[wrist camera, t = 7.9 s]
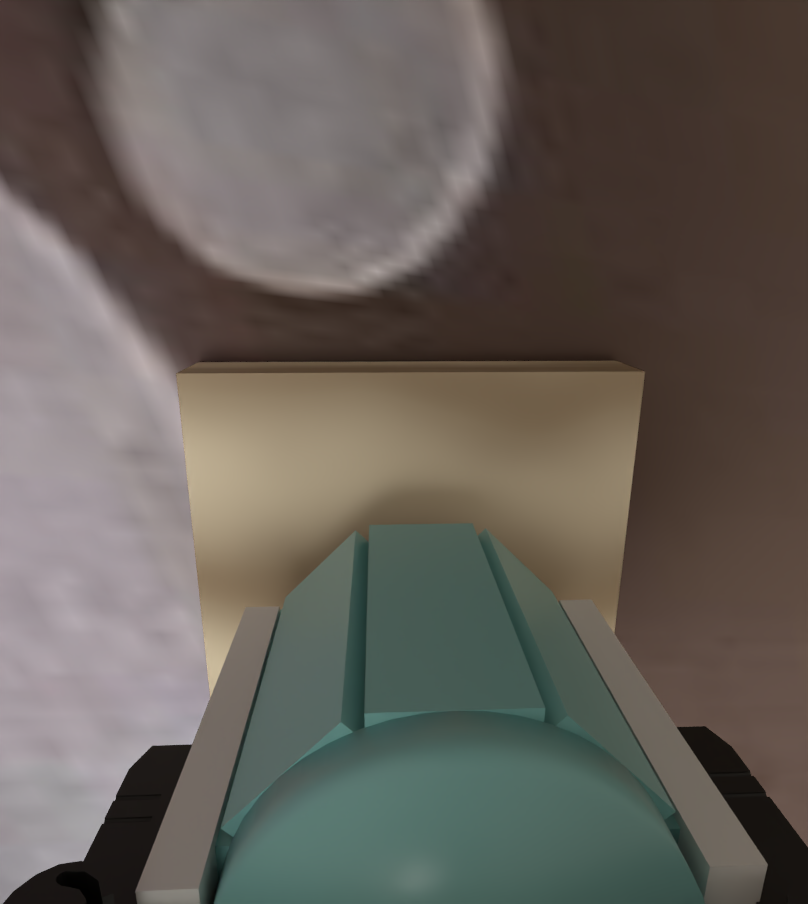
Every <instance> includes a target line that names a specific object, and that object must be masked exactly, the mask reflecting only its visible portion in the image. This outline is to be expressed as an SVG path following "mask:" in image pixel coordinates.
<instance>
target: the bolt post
mask: <svg viewBox="0 0 808 904" xmlns="http://www.w3.org/2000/svg"><path fill="white" fill-rule="evenodd" d="M644 376H645V371H642V370H640V369H637V368H634V367H631V366H629V365H626V364H623V363H621V362H618V361H390V362H198V363H196V364H194V365H192V366H190V367H188V368H186V369H184V370H182V371H180V372H178V373H176V377H177V386H178V396H179V405H180V415H181V424H182V434H183V443H184V453H185V462H186V472H187V481H188V491H189V500H190V510H191V519H192V529H193V538H194V548H195V557H196V567H197V576H198V586H199V595H200V605H201V614H202V624H203V633H204V643H205V652H206V662H207V671H208V681H209V690H210V698H211V695H212V693H213V690H214V687H215V685H216V682H217V680H218V677H219V675H220V672H221V669H222V667H223V664H224V662H225V659H226V656H227V654H228V651H229V649H230V646H231V644H232V641H233V638H234V636H235V633H236V631H237V628H238V626H239V623H240V620H241V618H242V615H243V613H244V610H245V608H246V607H277V606H279V608H280V610H281V609H282V608H283V604H284V601H285V597H286V596H287V595H288V594H290V593H291V592H292V591H293V590H294V589H295V588H296V587H297V586H298V585H299V584H300V583H301V582H302V581H303V580H304V579H305V578H306V577H307V576H308V575H309V574H310V573H311V572H313V571H314V570H315V569H316V568H317V567H318V566H319V565H320V564H321V563H322V562H323V561H324V560H325V559H326V558H327V557H328V556H329V555H330V554H331V553H332V552H333V551H334V550H336V549H337V548H338V547H339V546H340V545H341V544H342V543H343V542H344V541H345V540H346V539H347V538H348V537H349V536H350V535H351V534H352V533H353V532H354V531H355V530H356V531H357V532H358V533H359V534H360V535H362V536H363V537H364V538H365V539H366V540H367V541H368V542H369V525H392V524H457V523H473V526H474V528H475V531H476V533H477V536H478V535H479V534H480V533H481V532H482V531H483V530H484V529H485V528H486V529H487V530H488V531H489V532H490V533H491V534H492V535H493V536H494V537H495V538H497V539H498V540H499V541H500V542H501V543H502V544H503V545H504V546H505V547H506V548H507V549H508V550H509V551H510V552H511V553H512V554H513V555H514V556H515V557H516V558H517V559H519V560H520V561H521V562H522V563H523V564H524V565H525V566H526V567H527V568H528V569H529V570H530V571H531V572H532V573H533V574H534V575H535V576H536V577H537V578H538V579H539V580H541V581H542V582H543V583H544V584H545V585H546V586H547V587H548V588H549V589H550V590H551V591H552V592H553V594H554V596H555V597H556V599H557V601H558V603H559V600H592V601H593V603H594V604H595V606H596V607H597V609H598V610H599V612H600V613H601V615H602V616H603V618H604V619H605V621H606V622H607V624H608V625H609V627H610V628H611V630H612V631H613V633H614V631H615V623H616V614H617V606H618V597H619V589H620V580H621V572H622V563H623V555H624V546H625V538H626V529H627V521H628V512H629V504H630V495H631V486H632V478H633V469H634V461H635V452H636V444H637V435H638V427H639V418H640V410H641V401H642V393H643V384H644Z"/></svg>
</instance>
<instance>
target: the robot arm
mask: <svg viewBox="0 0 808 904" xmlns="http://www.w3.org/2000/svg"><path fill="white" fill-rule="evenodd" d="M559 604H560V606H561V608H562V610H563V612H564V613H565V615H566V617H567V619H568V620H569V622H570V624H571V626H572V628H573V629H574V631H575V633H576V635H577V636H578V638H579V640H580V642H581V644H582V645H583V647H584V649H585V651H586V653H587V654H588V656H589V658H590V660H591V661H592V663H593V665H594V667H595V669H596V670H597V672H598V674H599V676H600V677H601V679H602V681H603V683H604V685H605V686H606V688H607V690H608V692H609V693H610V695H611V697H612V699H613V701H614V702H615V704H616V706H617V708H618V709H619V711H620V713H621V715H622V717H623V718H624V720H625V722H626V724H627V725H628V727H629V729H630V731H631V733H632V734H633V736H634V738H635V740H636V741H637V743H638V745H639V747H640V749H641V750H642V752H643V754H644V756H645V757H646V759H647V761H648V763H649V765H650V766H651V768H652V770H653V772H654V773H655V775H656V777H657V779H658V781H659V782H660V784H661V786H662V788H663V790H664V791H665V793H666V795H667V797H668V798H669V800H670V802H671V804H672V806H673V807H674V809H675V811H676V812H675V813H673V816H674V818H675V820H676V822H677V823H678V825H679V827H680V834H679V840H678V847H679V849H680V851H681V853H682V855H683V857H684V858H685V860H686V862H687V864H688V866H689V868H690V870H691V872H692V874H693V876H694V878H695V880H696V882H697V884H698V886H699V889H700V891H701V893H702V895H703V898H704V902H705V904H808V847H807V846H806V844H805V843H804V842H803V841H802V839H801V838H800V837H799V835H798V834H797V833H796V831H795V830H794V829H793V827H792V826H791V825H790V823H789V822H788V821H787V819H786V818H785V817H784V815H783V814H782V813H781V811H780V810H779V809H778V807H777V806H776V805H775V803H774V802H773V801H772V799H771V798H770V797H767V796H766V792H765V790H764V789H763V788H762V786H761V785H760V784H759V782H758V781H757V780H756V778H755V777H754V776H751V774H750V770H749V769H748V768H747V766H746V765H745V764H744V762H743V761H742V760H741V758H740V757H739V756H738V754H737V753H736V752H735V751H734V749H733V748H732V747H731V746H730V745H729V744H727V743H726V742H725V741H723V740H722V739H721V738H720V737H718V736H717V735H716V734H714V733H713V732H712V731H710V730H709V729H708V728H707V727H705V726H702V727H676V726H675V724H674V723H673V721H672V720H671V718H670V717H669V715H668V714H667V712H666V711H665V709H664V708H663V706H662V705H661V703H660V702H659V700H658V699H657V697H656V696H655V694H654V693H653V691H652V690H651V688H650V687H649V685H648V684H647V682H646V681H645V679H644V678H643V676H642V675H641V673H640V672H639V670H638V669H637V667H636V666H635V664H634V663H633V661H632V660H631V658H630V657H629V655H628V654H627V652H626V651H625V649H624V648H623V646H622V645H621V643H620V642H619V640H618V639H617V637H616V636H615V634H614V633H613V631H612V630H611V628H610V627H609V625H608V624H607V622H606V621H605V619H604V618H603V616H602V615H601V613H600V612H599V610H598V609H597V607H596V606H595V604H594V603H593V601H592V600H559ZM279 616H280V608H279V606H277V607H246V608H245V610H244V613H243V615H242V618H241V620H240V623H239V626H238V628H237V631H236V633H235V636H234V638H233V641H232V644H231V646H230V649H229V651H228V654H227V656H226V659H225V662H224V664H223V667H222V669H221V672H220V675H219V677H218V680H217V682H216V685H215V687H214V690H213V693H212V695H211V698H210V700H209V703H208V705H207V708H206V711H205V713H204V716H203V718H202V721H201V723H200V726H199V729H198V731H197V734H196V736H195V739H194V741H193V744H192V745H165V746H152V747H151V748H150V749H149V750H148V751H147V752H146V753H145V754H144V755H143V756H142V757H141V758H140V759H139V760H138V761H137V762H136V763H135V764H134V765H133V766H132V767H131V768H130V769H129V771H128V773H127V775H126V777H125V779H124V781H123V783H122V785H121V787H120V789H119V791H118V793H117V795H116V800H115V801H113V803H112V805H111V807H110V809H109V811H108V813H107V815H106V817H105V822H104V824H102V825H101V827H100V829H99V831H98V833H97V835H96V837H95V839H94V841H93V843H92V845H91V847H90V849H89V851H88V853H87V855H86V857H85V859H84V861H79V862H72V863H65V864H59V865H57V866H55V867H52V868H50V869H48V870H46V871H43V872H41V873H39V874H37V875H35V876H34V877H32V878H31V879H30V880H28V881H27V882H25V883H24V884H23V885H21V886H20V887H19V888H17V889H16V890H15V891H13V893H12V894H11V895H10V896H9V897H8V898H7V900H6V901H5V902H4V903H3V904H213V903H214V899H215V895H216V891H217V887H218V883H219V880H218V871H217V862H216V852H215V844H216V841H217V837H218V834H219V830H220V826H221V823H222V819H223V816H224V812H225V809H226V805H227V801H228V798H229V794H230V791H231V787H232V784H233V780H234V776H235V773H236V769H237V766H238V762H239V759H240V755H241V751H242V748H243V744H244V741H245V737H246V734H247V730H248V727H249V723H250V719H251V716H252V712H253V709H254V705H255V702H256V698H257V694H258V691H259V687H260V684H261V680H262V677H263V673H264V669H265V666H266V662H267V659H268V655H269V652H270V648H271V645H272V641H273V637H274V634H275V630H276V627H277V623H278V620H279Z"/></svg>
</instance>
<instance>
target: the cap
mask: <svg viewBox="0 0 808 904" xmlns="http://www.w3.org/2000/svg"><path fill="white" fill-rule="evenodd" d="M675 812H676V811H675V809H674V807H673V806H672V804H671V802H670V800H669V798H668V797H667V795H666V793H665V791H664V790H663V788H662V786H661V784H660V782H659V781H658V779H657V777H656V775H655V773H654V772H653V770H652V768H651V766H650V765H649V763H648V761H647V759H646V757H645V756H644V754H643V752H642V750H641V749H640V747H639V745H638V743H637V741H636V740H635V738H634V736H633V734H632V733H631V731H630V729H629V727H628V725H627V724H626V722H625V720H624V718H623V717H622V715H621V713H620V711H619V709H618V708H617V706H616V704H615V702H614V701H613V699H612V697H611V695H610V693H609V692H608V690H607V688H606V686H605V685H604V683H603V681H602V679H601V677H600V676H599V674H598V672H597V670H596V669H595V667H594V665H593V663H592V661H591V660H590V658H589V656H588V654H587V653H586V651H585V649H584V647H583V645H582V644H581V642H580V640H579V638H578V636H577V635H576V633H575V631H574V629H573V628H572V626H571V624H570V622H569V620H568V619H567V617H566V615H565V613H564V612H563V610H562V608H561V606H560V604H559V603H558V601H557V599H556V597H555V596H554V594H553V592H552V591H551V590H550V589H549V588H548V587H547V586H546V585H545V584H544V583H543V582H542V581H541V580H539V579H538V578H537V577H536V576H535V575H534V574H533V573H532V572H531V571H530V570H529V569H528V568H527V567H526V566H525V565H524V564H523V563H522V562H521V561H520V560H519V559H517V558H516V557H515V556H514V555H513V554H512V553H511V552H510V551H509V550H508V549H507V548H506V547H505V546H504V545H503V544H502V543H501V542H500V541H499V540H498V539H497V538H495V537H494V536H493V535H492V534H491V533H490V532H489V531H488V530H487V529H486V528H485V529H484V530H483V531H482V532H481V533H480V534H479V535H478V536H477V533H476V531H475V528H474V526H473V523H457V524H392V525H369V542H368V541H367V540H366V539H365V538H364V537H363V536H362V535H360V534H359V533H358V532H357V531H356V530H355V531H354V532H353V533H352V534H351V535H350V536H349V537H348V538H347V539H346V540H345V541H344V542H343V543H342V544H341V545H340V546H339V547H338V548H337V549H336V550H334V551H333V552H332V553H331V554H330V555H329V556H328V557H327V558H326V559H325V560H324V561H323V562H322V563H321V564H320V565H319V566H318V567H317V568H316V569H315V570H314V571H313V572H311V573H310V574H309V575H308V576H307V577H306V578H305V579H304V580H303V581H302V582H301V583H300V584H299V585H298V586H297V587H296V588H295V589H294V590H293V591H292V592H291V593H290V594H288V595H287V596H286V597H285V601H284V604H283V608H282V609H281V610H280V616H279V620H278V623H277V627H276V630H275V634H274V637H273V641H272V645H271V648H270V652H269V655H268V659H267V662H266V666H265V669H264V673H263V677H262V680H261V684H260V687H259V691H258V694H257V698H256V702H255V705H254V709H253V712H252V716H251V719H250V723H249V727H248V730H247V734H246V737H245V741H244V744H243V748H242V751H241V755H240V759H239V762H238V766H237V769H236V773H235V776H234V780H233V784H232V787H231V791H230V794H229V798H228V801H227V805H226V809H225V812H224V816H223V819H222V823H221V826H220V830H219V834H218V837H217V841H216V844H215V852H216V862H217V871H218V880H219V883H218V887H217V891H216V895H215V899H214V903H213V904H705V902H704V898H703V895H702V893H701V891H700V889H699V886H698V884H697V882H696V880H695V878H694V876H693V874H692V872H691V870H690V868H689V866H688V864H687V862H686V860H685V858H684V857H683V855H682V853H681V851H680V849H679V847H678V840H679V834H680V827H679V825H678V823H677V822H676V820H675V818H674V816H673V813H675Z"/></svg>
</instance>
